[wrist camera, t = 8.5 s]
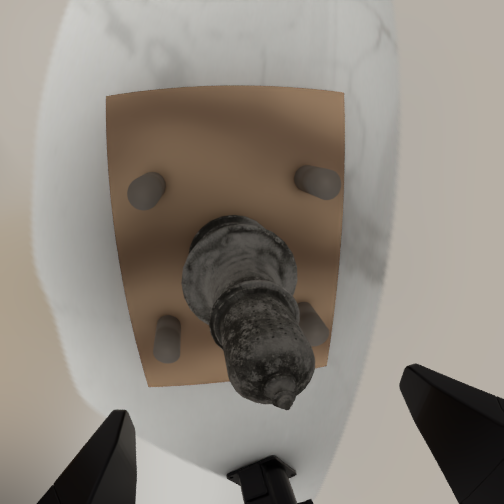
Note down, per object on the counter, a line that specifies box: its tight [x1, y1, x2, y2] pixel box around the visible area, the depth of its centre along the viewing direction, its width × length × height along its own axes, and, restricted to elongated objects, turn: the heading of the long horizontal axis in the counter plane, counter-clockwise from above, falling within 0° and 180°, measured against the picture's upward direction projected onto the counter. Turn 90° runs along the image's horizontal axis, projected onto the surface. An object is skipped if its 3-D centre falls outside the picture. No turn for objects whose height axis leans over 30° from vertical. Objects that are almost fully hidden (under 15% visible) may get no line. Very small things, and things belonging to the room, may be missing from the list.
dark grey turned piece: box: [181, 215, 315, 410], centre depth 13 cm, size 6×6×12 cm
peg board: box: [106, 86, 345, 387], centre depth 18 cm, size 20×14×4 cm
